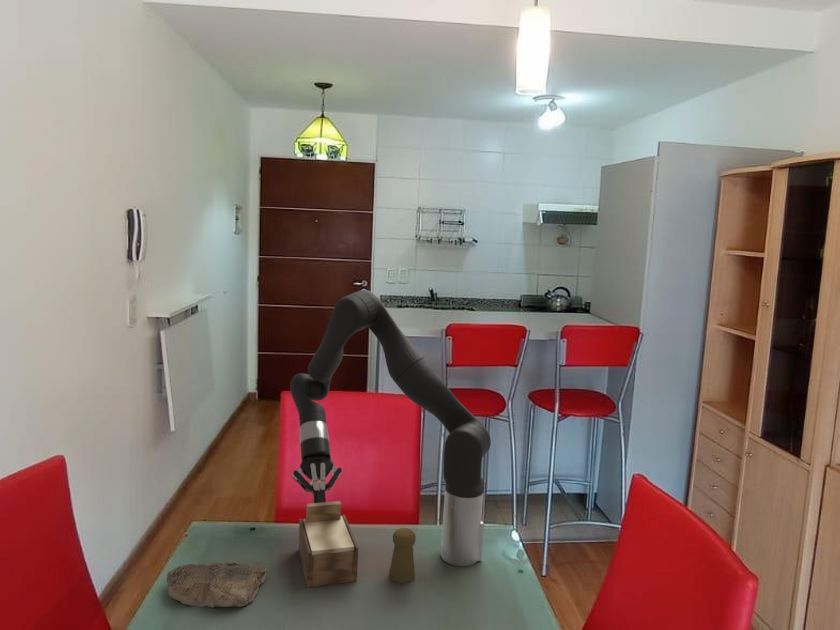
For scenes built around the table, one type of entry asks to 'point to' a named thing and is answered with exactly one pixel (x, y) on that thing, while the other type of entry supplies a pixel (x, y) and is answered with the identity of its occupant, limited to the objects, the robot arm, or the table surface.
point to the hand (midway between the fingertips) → (320, 506)
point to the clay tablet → (216, 584)
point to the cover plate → (326, 529)
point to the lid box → (327, 562)
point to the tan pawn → (402, 556)
